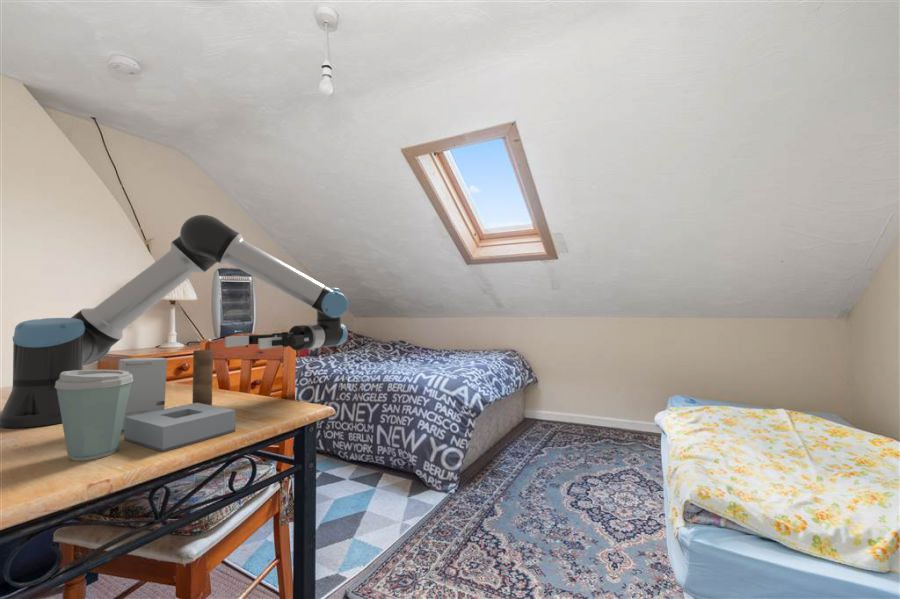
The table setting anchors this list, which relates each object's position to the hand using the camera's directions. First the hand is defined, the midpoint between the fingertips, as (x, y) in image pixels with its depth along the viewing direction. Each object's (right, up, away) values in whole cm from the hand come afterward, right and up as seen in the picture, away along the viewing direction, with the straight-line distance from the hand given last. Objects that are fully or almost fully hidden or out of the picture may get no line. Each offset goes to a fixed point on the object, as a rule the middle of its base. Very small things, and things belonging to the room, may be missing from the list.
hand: (242, 343), depth 105 cm
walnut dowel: (-5, -17, -9) cm, 20 cm away
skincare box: (-15, -17, -15) cm, 27 cm away
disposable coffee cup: (-9, -16, -34) cm, 38 cm away
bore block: (-1, -17, -23) cm, 28 cm away
